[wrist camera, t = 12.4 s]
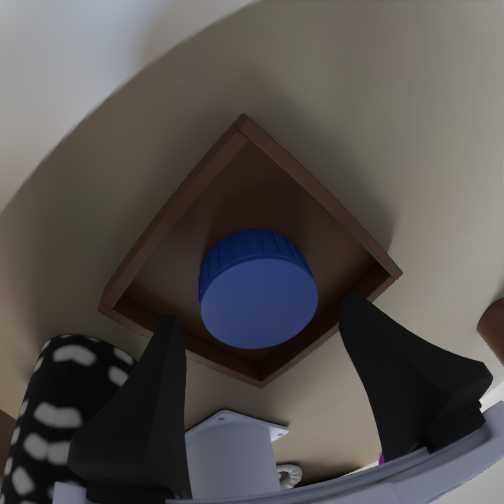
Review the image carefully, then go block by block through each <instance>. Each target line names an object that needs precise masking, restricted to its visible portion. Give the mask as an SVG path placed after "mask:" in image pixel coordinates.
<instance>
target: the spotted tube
mask: <svg viewBox="0 0 504 504" xmlns="http://www.w3.org/2000/svg"><path fill="white" fill-rule="evenodd" d="M136 364H137V362H136V361H135V360H134V359H133V358H131V357H130V356H129V355H127V354H126V353H125V352H123V351H121V350H120V349H118V348H116V347H114V346H112V345H110V344H108V343H105V342H103V341H100V340H97V339H94V338H91V337H85V336H80V335H63V336H57V337H55V338H52V339H50V340H49V341H48V342H46V343H45V345H44V346H43V348H42V350H41V353H40V355H39V358H38V360H37V363H36V365H35V368H34V371H33V373H32V376H31V379H30V382H29V385H28V388H27V390H26V393H25V396H24V399H23V403H22V406H21V409H20V412H19V416H18V419H17V422H16V426H15V430H14V433H13V437H12V441H11V445H10V449H9V453H8V458H7V462H6V467H5V472H4V477H3V482H2V488H1V495H0V504H53V496H54V487H55V482H62V483H66V484H72V485H77V486H81V487H84V488H86V489H87V481H85V480H84V479H82V478H81V477H79V476H78V475H77V474H75V473H74V472H73V471H71V470H70V469H69V467H68V466H67V458H68V452H69V446H70V442H71V439H72V435H73V434H74V433H75V432H76V431H78V430H79V429H80V428H81V427H82V426H84V425H85V424H86V423H87V422H89V421H90V420H91V419H92V418H93V417H94V416H95V415H96V414H97V413H98V412H99V411H100V410H101V409H102V408H103V407H104V406H105V405H106V404H107V403H108V402H109V401H110V400H111V398H112V397H113V396H114V395H115V394H116V392H117V391H118V390H119V389H120V388H121V386H122V385H123V384H124V382H125V381H126V379H127V378H128V377H129V375H130V374H131V372H132V371H133V369H134V367H135V366H136Z"/></svg>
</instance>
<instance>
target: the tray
mask: <svg viewBox="0 0 504 504" xmlns="http://www.w3.org/2000/svg"><path fill="white" fill-rule="evenodd" d="M250 229H263V230H269V231H274V232H276V233H279V234H281V235H283V236H287V238H288V239H289V240H290V241H291V242H292V243H293V244H296V245H297V247H298V249H299V251H300V253H301V254H303V256H304V258H305V260H306V262H307V264H308V266H309V268H310V270H311V272H312V274H313V276H314V278H313V280H314V282H315V284H316V287H317V291H318V303H317V308H316V311H315V313H314V315H313V317H312V319H311V320H310V322H309V323H308V324H307V325H306V326H305V327H304V328H303V329H302V330H301V331H300V332H299V333H298V334H296V335H295V336H293V337H292V338H290V339H288V340H286V341H284V342H282V343H280V344H277V345H274V346H270V347H265V348H257V349H246V348H239V347H234V346H231V345H228V344H226V343H223V342H221V341H220V340H218V339H217V338H215V337H214V336H213V335H212V334H211V333H210V332H209V331H208V330H207V328H206V327H205V325H204V323H203V321H202V317H201V311H200V304H199V302H198V277H200V265H202V264H203V261H204V259H205V257H206V253H207V254H208V252H209V251H210V250H211V249H212V248H213V247H214V246H215V244H216V243H218V242H219V241H221V240H222V239H224V238H226V237H227V236H228V235H231V234H234V233H236V232H239V231H242V230H250ZM402 274H403V272H402V271H401V269H400V268H399V267H398V266H397V265H396V264H395V262H394V261H393V260H392V259H391V258H390V257H389V255H388V254H387V253H386V252H385V251H384V250H383V249H382V248H381V246H380V245H379V244H378V243H377V242H376V241H375V240H374V239H373V238H372V236H371V235H370V234H369V233H368V232H367V231H366V230H365V229H364V228H363V227H362V226H361V225H360V223H359V222H358V221H357V220H356V219H355V218H354V217H353V216H352V215H351V214H350V213H349V212H348V211H347V210H346V209H345V208H344V207H343V206H342V205H341V204H340V202H339V201H338V200H337V199H336V198H335V197H334V196H333V195H332V194H331V193H330V192H329V191H328V190H327V189H326V188H325V187H324V186H323V185H322V184H321V183H320V182H319V181H318V180H317V179H316V178H314V177H313V176H312V175H311V174H310V173H309V172H308V171H307V170H306V169H305V168H304V167H303V166H302V165H301V164H300V163H299V162H298V161H297V160H296V159H295V158H294V157H292V156H291V155H290V154H289V153H288V152H287V151H286V150H285V149H284V148H283V147H282V146H281V145H279V144H278V143H277V142H276V141H275V140H274V139H273V138H272V137H271V136H269V135H268V134H267V133H266V132H265V131H264V130H263V129H261V128H260V127H259V126H258V125H257V124H256V123H255V122H253V121H252V120H251V119H250V118H249V117H248V116H246V115H245V114H244V113H243V114H242V115H241V116H240V117H239V118H238V119H237V120H236V121H235V122H234V123H233V124H232V126H231V127H230V128H229V129H228V130H227V131H226V132H225V133H224V134H223V136H222V137H221V138H220V139H219V140H218V141H217V142H216V144H215V145H214V146H213V147H212V148H211V149H210V150H209V152H208V153H207V154H206V155H205V156H204V157H203V159H202V160H201V161H200V162H199V163H198V164H197V166H196V167H195V168H194V169H193V170H192V172H191V173H190V174H189V175H188V176H187V178H186V179H185V180H184V181H183V183H182V184H181V185H180V186H179V188H178V189H177V190H176V191H175V193H174V194H173V195H172V196H171V198H170V199H169V200H168V201H167V203H166V204H165V205H164V206H163V208H162V209H161V210H160V212H159V213H158V214H157V216H156V217H155V218H154V220H153V221H152V222H151V223H150V225H149V226H148V227H147V229H146V230H145V232H144V233H143V234H142V236H141V237H140V238H139V240H138V241H137V242H136V244H135V245H134V247H133V248H132V249H131V251H130V252H129V254H128V255H127V256H126V258H125V259H124V261H123V262H122V264H121V265H120V266H119V268H118V269H117V271H116V272H115V274H114V275H113V277H112V278H111V280H110V281H109V283H108V284H107V286H106V287H105V290H104V292H103V295H102V298H101V300H100V303H99V306H98V309H97V311H99V312H101V313H102V314H104V315H106V316H108V317H109V318H111V319H113V320H115V321H116V322H118V323H120V324H122V325H124V326H126V327H127V328H129V329H131V330H133V331H135V332H137V333H139V334H140V335H142V336H144V337H146V338H148V339H151V337H152V335H153V333H154V331H155V329H156V327H157V325H158V323H159V320H160V318H161V317H162V316H168V315H177V319H178V322H179V326H180V330H181V333H182V337H183V340H184V344H185V347H186V357H187V358H189V359H191V360H193V361H196V362H198V363H200V364H202V365H205V366H207V367H209V368H211V369H214V370H216V371H218V372H221V373H223V374H225V375H228V376H230V377H233V378H235V379H238V380H240V381H242V382H245V383H248V384H250V385H253V386H255V387H258V388H260V389H262V388H263V387H265V386H266V385H267V384H269V383H270V382H272V381H273V380H275V379H276V378H277V377H279V376H280V375H282V374H283V373H284V372H286V371H287V370H288V369H290V368H291V367H293V366H294V365H295V364H297V363H298V362H299V361H301V360H302V359H303V358H305V357H306V356H307V355H308V354H310V353H311V352H312V351H314V350H315V349H316V348H318V347H319V346H320V345H321V344H323V343H324V342H325V341H326V340H328V339H329V338H330V337H331V336H333V335H334V334H335V333H336V332H338V331H339V328H338V325H339V320H340V314H341V309H342V303H343V297H344V293H349V292H355V291H357V292H358V293H360V294H361V295H362V296H363V297H365V298H366V299H367V300H368V301H370V302H371V303H372V302H373V301H374V300H375V299H376V298H377V297H378V296H379V295H381V294H382V293H383V292H384V291H385V290H386V289H387V288H388V287H389V286H390V285H392V284H393V283H394V282H395V280H397V279H398V278H399V277H400V276H401V275H402Z"/></svg>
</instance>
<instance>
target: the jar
mask: <svg viewBox="0 0 504 504" xmlns="http://www.w3.org/2000/svg"><path fill="white" fill-rule="evenodd" d="M477 332H478V333H479V335H480V336H481V337H482V338H483V340H484V341H485V342H486V344H487V345H488V346H489V348H490V349H491V350H492V352H493V353H494V354H495V356H496V357H497V358H498V360H499V361H500V362H501V364H502V365H503V367H504V299H500V300H498V301H496V302H495V303H494V304H493V305H491V306H490V307H489V308H488V310H487V311H486V312H485V313H484V315H483V316H482V318H481V319H480V321H479V323H478V326H477Z"/></svg>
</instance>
